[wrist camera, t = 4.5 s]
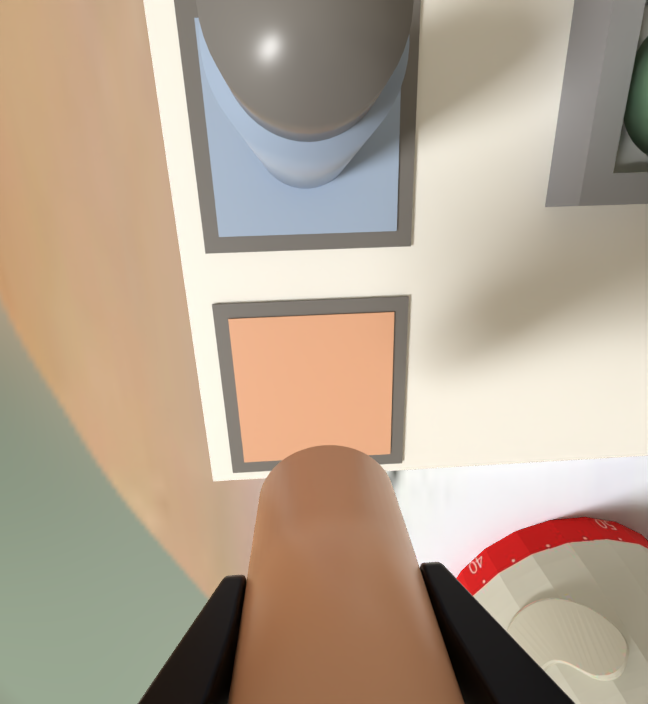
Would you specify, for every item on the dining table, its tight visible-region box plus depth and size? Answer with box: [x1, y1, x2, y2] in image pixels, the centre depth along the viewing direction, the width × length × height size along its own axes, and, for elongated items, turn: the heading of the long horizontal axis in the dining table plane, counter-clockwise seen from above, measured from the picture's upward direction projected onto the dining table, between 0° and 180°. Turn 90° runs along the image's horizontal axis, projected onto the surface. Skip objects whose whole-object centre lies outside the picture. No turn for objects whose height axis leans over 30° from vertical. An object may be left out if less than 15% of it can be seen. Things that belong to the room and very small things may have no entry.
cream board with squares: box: [144, 0, 648, 481], centre depth 16 cm, size 22×19×3 cm
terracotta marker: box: [228, 445, 465, 704], centre depth 6 cm, size 4×4×9 cm
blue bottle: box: [196, 0, 414, 189], centre depth 10 cm, size 4×4×9 cm
